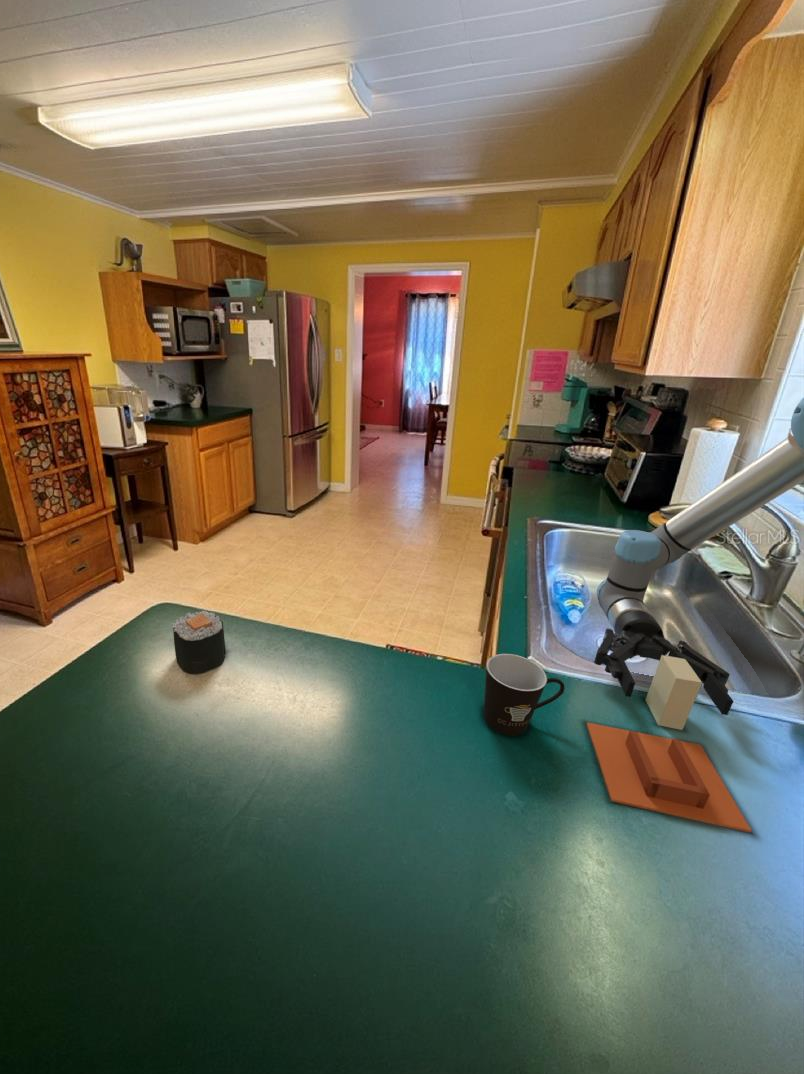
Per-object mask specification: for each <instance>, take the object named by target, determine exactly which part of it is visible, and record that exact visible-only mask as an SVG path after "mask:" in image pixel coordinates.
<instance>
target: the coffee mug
mask: <svg viewBox="0 0 804 1074" xmlns="http://www.w3.org/2000/svg"><path fill="white" fill-rule="evenodd" d="M485 668H486V669H485V683H484V685H485V686H484V699H483V700H484V702H483V704H484V705H483V718H484V719H483V720H485V723H486V724H487V726H488V727H490V728H491V729H492V730H494V731H495V732H497V733H500V734H502V735H505V736H513V737H515V736H521V735H522V734H524V733H525V732H526V731H527V729H528V726H529V725H530V722H531V721H532V717H533V715H534V713H535V711H536V710H537V709H541V707H544V706H547V705H548V704H550V703H552V702H554V701H556V700H557V699H559V697H561V696H562V695H563V694H564V692H565V683H564V682H563V681H562V680H561V679H559V678H556V677H549V678H548V677H547V673H546V672H545V671H544V670H543V668H542V667H541V666H539V665H538V664H537V663H536V662H534V660H533V661H532V660H531V659H529V658H526V657H524V656H521V655H518V654H513V653H499V654H495V655H492V656H491V657H489V658H488V660H487V662H486V667H485ZM550 683H551V684H552V683H556V684H557V685H559V686H560V687H559V690H558V691H557V693H555V694H554V695H553V696H551V697H549V698H547V699H545V700H542V701H540V700H541V697H542V694H543V692H544V689H545V687H546V685H547V684H550Z"/></svg>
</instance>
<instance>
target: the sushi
mask: <svg viewBox="0 0 804 1074" xmlns="http://www.w3.org/2000/svg"><path fill="white" fill-rule="evenodd" d="M171 627H172V633H173V645H174V653H175V661H176V664H177V666H179V667H180V669H181V670H182V671H183V672H184V673H186V674H189V675H200V674H205V673H207V672H210V671H211V670H214V669H216V668H219V666H221V665H222V664H223V663H224V662H225V656H226V655H227V653H226V652H227V651H226V644H225V643H226V642H225V630H224V629H225V628H224V622H223V620H221V618H220V617H219V614H218V615H215V613H214V612H209V611H206V610H202V611H199V612H198V611H195V613H194V612H192V613H191V612H187V613H185V616H183V615H181V616H180V617H178V619H177V618H176V619H175V621H174V622H173V623H171Z"/></svg>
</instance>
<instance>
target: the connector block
mask: <svg viewBox="0 0 804 1074" xmlns="http://www.w3.org/2000/svg"><path fill="white" fill-rule="evenodd" d="M702 684H703V683H702V682H701V680H700V679H699V678H698V676H697V675H696V673H695V672H694V671H693V669H692V668H691V666H690V665H689V664H688V662H687V661H686V659H682V658H676V657H670V656H668V655H666V656H664V655H662V656H661V658H660V661H659V660H658V664H657V667H656V670H655V673H654V675H653V677H652V681H651V683H650V685H649V689H648V692H647V695H646V697H645V703H646V704H647V706H648V708H649V710H650V712H651V714H652V716H653V718H654V720H655V722H656V724H657V725H658V726H661V727H664V728H665V727H666V728H670V729H675V730H680V731H683V730H684V727H685V725H686V723H687V720H688V718H689V715H690V713H691V711H692V708H693V706H694V703H695V702H696V698H697V696H698V694H699V691H700V689H701V686H702Z"/></svg>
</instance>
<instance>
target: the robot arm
mask: <svg viewBox="0 0 804 1074" xmlns="http://www.w3.org/2000/svg"><path fill="white" fill-rule="evenodd" d="M803 482H804V396H803V397H802V398H801V399H800V400H799V402H798V403H797V405H796V407H795V408H794V410H793V413H792V415H791V418H790V427H789V429H788V434H787V437H786V438H785V439H783V440H781V441H780V442H779V443H778V444H776V445H774V446H773V447H771V448H770V449H769V450H768V451H766V452H764V453H763V454H762V455H760V456H759V457H757V458H756V459H754V460H753V461H752V462H750V463H749V464H747V465H746V466H744V467H743V468H742V469H740V470H739V471H737V472H736V473H734V474H733V475H731V476H730V477H728V478H727V479H726V480H724V481H723V482H721V483H720V484H719V485H717V486H715V487H714V488H713V489H711V490H710V491H709V492H707V493H705V494H704V495H703V496H702V497H699V499H697V500H695V501H694V502H693V503H691V504H690V505H688V506H687V507H686V508H684V509H683V510H681V511H680V512H678V513H677V514H675V515H674V516H673V517H671V518H669V519H668V520H667V521H665V522H664V523H662V524H661V525H659V526H658V527H656V528H655V529H654V530H652V531H651V532H647V531H646V530H645V531H644V530H639V529H627V530H623V531H622V532H621V533H620V534H619V536H618V540H617V543H616V544H615V547H614V552H613V556H612V559H611V563H610V566H609V570H608V574H607V577H606V578H605V579H603V580H602V581H601V582H600V583H599V584H598V586H597V588H596V598H597V600H598V604H599V606H600V608H601V610H602V611H603V614H604V615H605V616H606V619H607V621H608V622H609V624H610V626H611V628H612V629H611V628H606V629H605V631H604V635H603V637H602V642H601V644H600V646H598V648H597V651H596V653H595V658H594V661H593V663H594V664H595V665H597V666H601V665H604V666H605V668H604V671H605V672H606V673H608V674H611V677H612V678H613V679H616V680H617V681H618V683H619V686H620V687H621V690H622V692H623V694H624V696H625V697H628V698H631V697H632V695H633V692H634V688H635V686H636V682H635V680H634V678H633V676H632V674H631V671H630V670H629V667H628V665H627V664H626V661H627V660H631V659H633V658H634V657H636V656H639V657H640V658H642V659H643V658H644V659H651V660H656V661H658V662H659V661H660V658H661V656H662V655H664V656H670V657H676V658H682V659H686V661H687V662H688V664H689V665H690V666H691V668H692V669H693V671H694V672H695V673H696V675H697V676H698V678H699V679H700V680H701V682H702V684H703V685H702V688H703V690H704V691H705V692H706V694H707V695H708V697H709V698H710V699H711V701H712V702H713V704H714V705H715V707H716V708H717V710H718V711H719V712H720V714H721V715H723V716H728V715H729V712H731V711H730V710H731V708H732V706H733V704H734V699H733V698H732V697H731V696H730V694H729V689H728V687H727V686H726V684H727V683H728V680H729V677H730V674H731V673H729V672H728V671H726V670H725V669H723V668H722V667H721V666H718V665H717V664H716V663H715V662H713V661H712V660H710V659H708V658H707V657H705V656H704V655H703V654H701V653H699V652H698V651H697V650H695V649H694V648H692V646H690V644H688V642H686V641H684V640H679V641H678V643H671V642H670V641H669V640H668V639H667V638H665V635H664V631H663V629H662V627H661V626H660V624H659V623H658V621H657V620H656V618H655V617H654V615H653V614H652V612H651V611H650V609H648V607H647V605H646V604H645V603H644V598H645V595H646V592H647V590H648V588H649V584H650V581H651V578H652V575H653V573H654V572H656V571H658V570H660V569H662V568H663V567H665V566H667V565H669V564H672V563H674V562H676V561H678V560H680V558H682V557H683V556H684V555H686V554H687V553H689V552H690V551H692V550H693V549H696V548H697V547H698V546H700V545H701V544H703V543H705V542H706V541H708V540H709V539H711V538H713V537H715V536H717V534H720V533H721V532H723V531H724V530H725V529H726V530H727V528H729V527H731V526H732V525H734V524H736V523H737V522H739V521H741V520H742V519H744V518H746V517H747V516H749V515H751V514H752V513H754V512H756V511H757V510H758V509H760V508H762V507H763V506H766V504H768V503H770V502H771V501H773V500H775V499H777V498H778V497H779V496H781V495H783V494H785V493H786V492H788V491H790V490H792V489H793V488H794V487H796V486H798V485H799V484H801V483H803ZM617 643H619V645H620V647H618V648H617V649H615V650H613V651H612V652H610V651H611V649H612V647H614V646H615V644H617ZM609 653H610V654H609Z"/></svg>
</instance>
